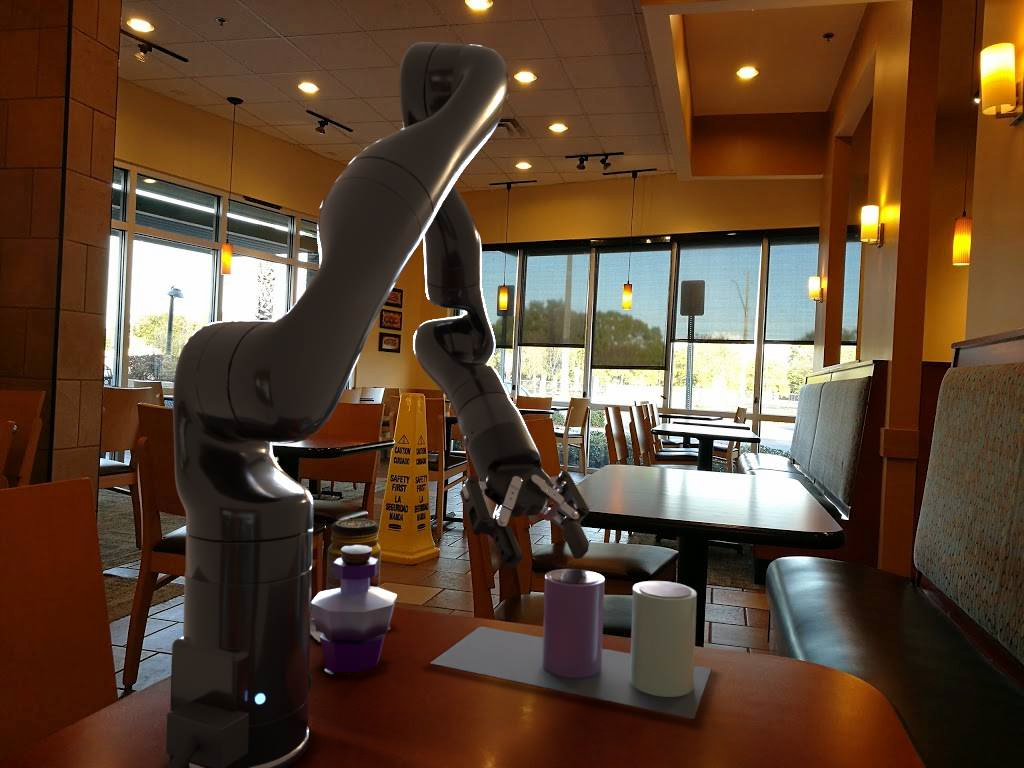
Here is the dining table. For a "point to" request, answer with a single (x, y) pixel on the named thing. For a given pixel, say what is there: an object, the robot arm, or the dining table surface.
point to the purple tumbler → (573, 623)
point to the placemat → (523, 664)
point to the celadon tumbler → (663, 638)
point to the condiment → (350, 535)
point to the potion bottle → (353, 614)
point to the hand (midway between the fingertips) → (550, 559)
